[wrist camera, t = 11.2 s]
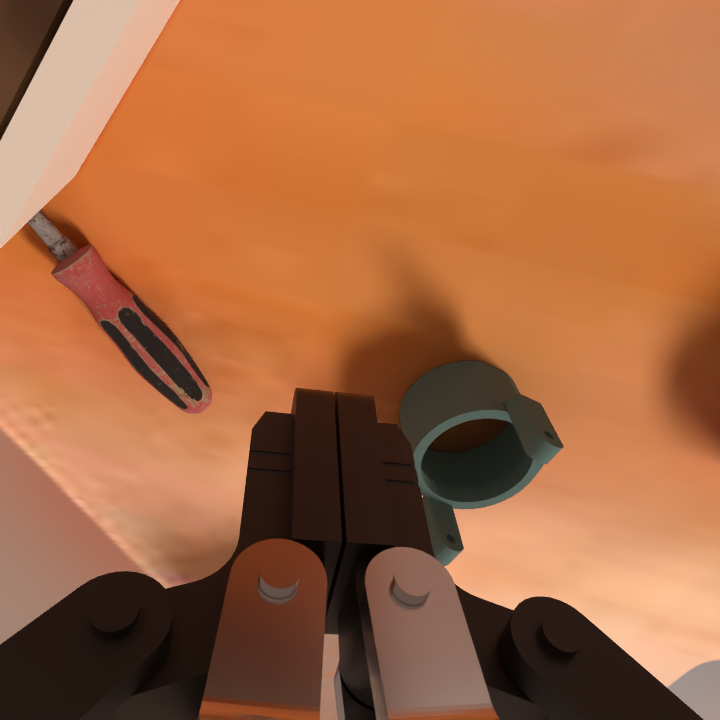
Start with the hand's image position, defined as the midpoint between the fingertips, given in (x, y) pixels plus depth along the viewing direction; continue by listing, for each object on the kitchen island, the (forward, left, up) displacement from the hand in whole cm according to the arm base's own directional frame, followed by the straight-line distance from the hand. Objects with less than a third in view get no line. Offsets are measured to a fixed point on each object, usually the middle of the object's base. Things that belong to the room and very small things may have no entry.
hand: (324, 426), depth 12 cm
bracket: (+8, +19, -22) cm, 30 cm away
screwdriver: (+12, -7, -23) cm, 26 cm away
